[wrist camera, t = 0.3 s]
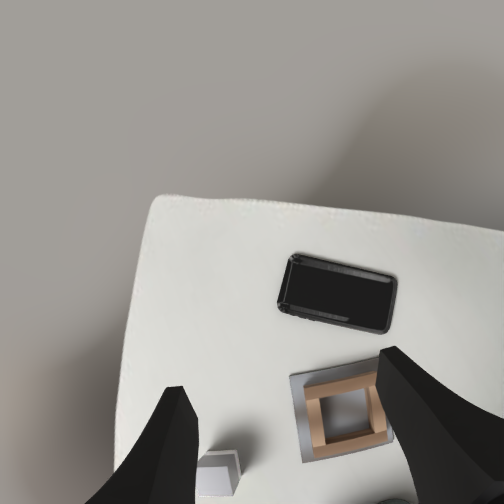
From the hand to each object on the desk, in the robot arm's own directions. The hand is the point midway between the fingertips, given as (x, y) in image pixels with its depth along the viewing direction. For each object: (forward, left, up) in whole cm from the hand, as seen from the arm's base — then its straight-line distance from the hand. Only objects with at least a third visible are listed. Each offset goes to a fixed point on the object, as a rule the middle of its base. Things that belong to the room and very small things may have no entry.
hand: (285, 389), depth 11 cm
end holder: (-8, -6, -29) cm, 31 cm away
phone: (+7, -8, -30) cm, 32 cm away
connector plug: (-13, +10, -29) cm, 34 cm away
